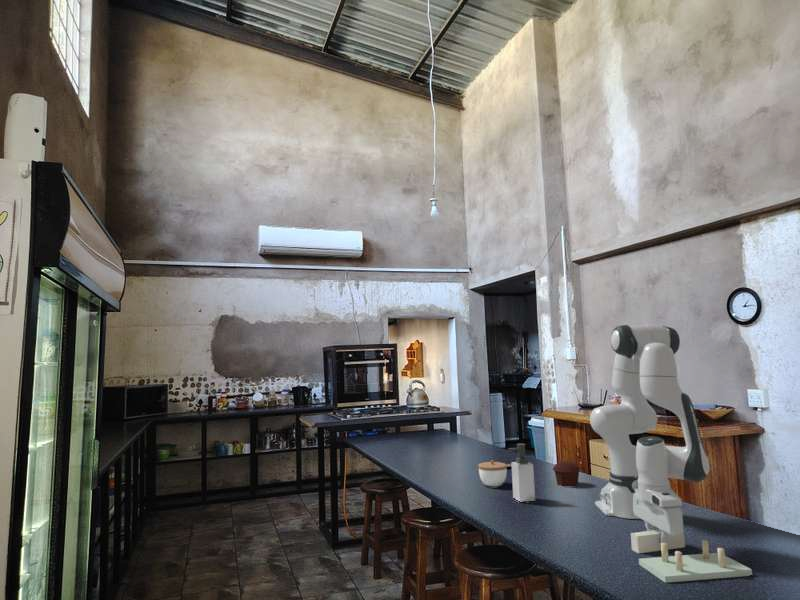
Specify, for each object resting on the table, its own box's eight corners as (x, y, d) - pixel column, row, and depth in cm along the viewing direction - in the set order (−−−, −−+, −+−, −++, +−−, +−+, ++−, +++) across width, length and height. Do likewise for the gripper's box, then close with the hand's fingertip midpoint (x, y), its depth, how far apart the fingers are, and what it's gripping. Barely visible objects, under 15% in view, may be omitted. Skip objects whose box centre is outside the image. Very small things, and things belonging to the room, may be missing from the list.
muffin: (579, 481, 239) (577, 459, 240) (583, 487, 229) (581, 464, 230) (552, 481, 241) (550, 458, 242) (554, 487, 231) (553, 464, 232)
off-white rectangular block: (638, 554, 154) (637, 536, 154) (631, 550, 157) (630, 533, 157) (685, 547, 158) (683, 530, 158) (677, 544, 161) (676, 527, 161)
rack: (665, 582, 134) (663, 558, 135) (639, 564, 146) (637, 541, 147) (752, 575, 137) (750, 551, 137) (719, 558, 149) (717, 535, 149)
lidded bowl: (510, 488, 231) (508, 462, 232) (481, 489, 231) (479, 463, 232) (504, 481, 244) (503, 457, 245) (477, 482, 244) (476, 457, 245)
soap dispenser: (507, 499, 214) (505, 443, 217) (528, 497, 216) (525, 442, 218) (514, 503, 208) (511, 446, 210) (535, 501, 210) (532, 444, 212)
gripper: (626, 485, 169) (629, 530, 167) (664, 502, 149) (668, 554, 147) (644, 484, 170) (648, 528, 168) (685, 501, 149) (689, 552, 148)
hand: (658, 540), depth 157 cm, fingers open, 4 cm apart
